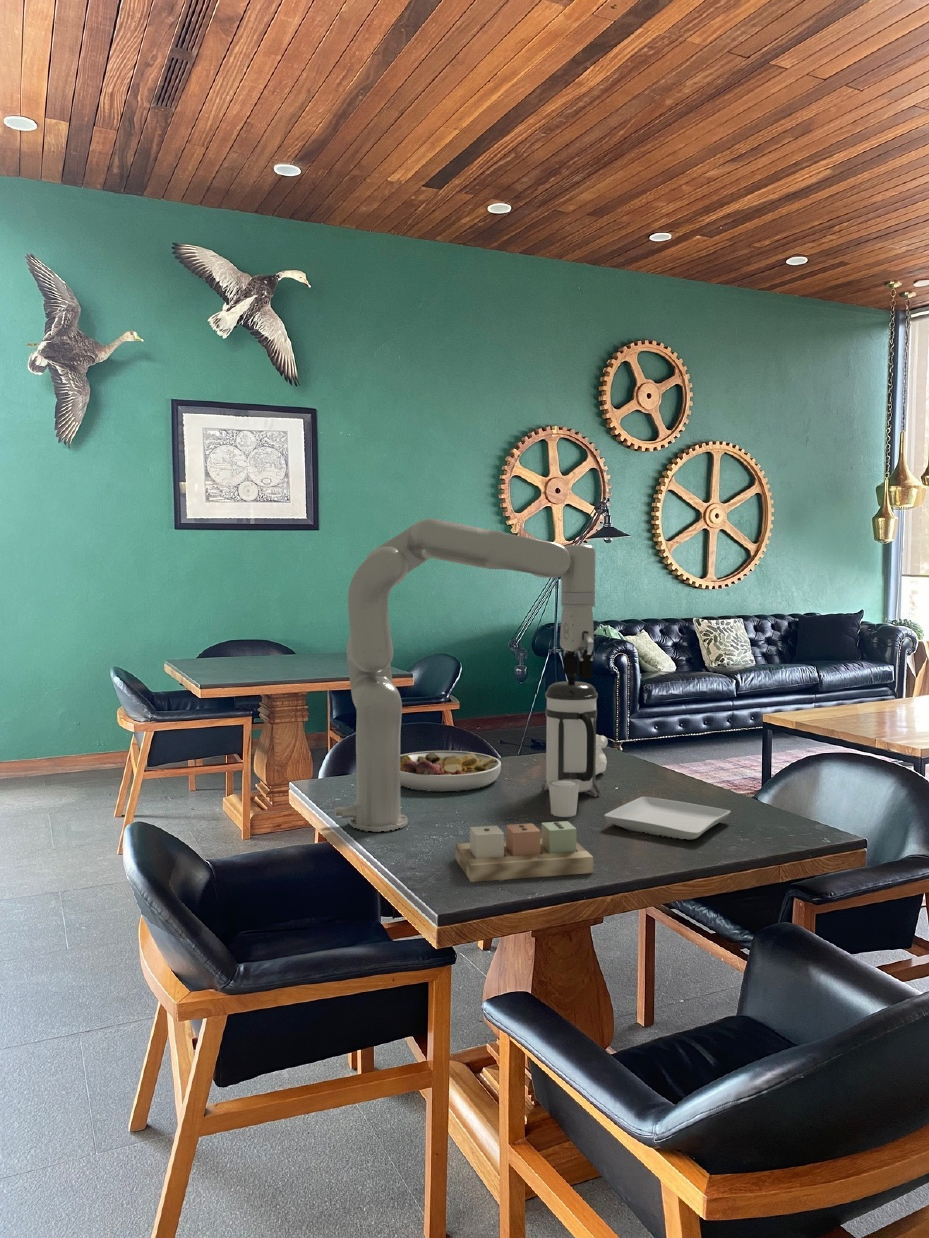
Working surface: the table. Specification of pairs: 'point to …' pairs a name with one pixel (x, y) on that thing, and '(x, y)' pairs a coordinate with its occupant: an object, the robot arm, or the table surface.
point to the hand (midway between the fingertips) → (577, 676)
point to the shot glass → (563, 797)
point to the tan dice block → (523, 839)
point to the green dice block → (558, 837)
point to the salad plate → (666, 817)
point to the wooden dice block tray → (523, 864)
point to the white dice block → (486, 842)
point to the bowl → (447, 770)
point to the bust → (600, 754)
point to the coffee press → (571, 733)
